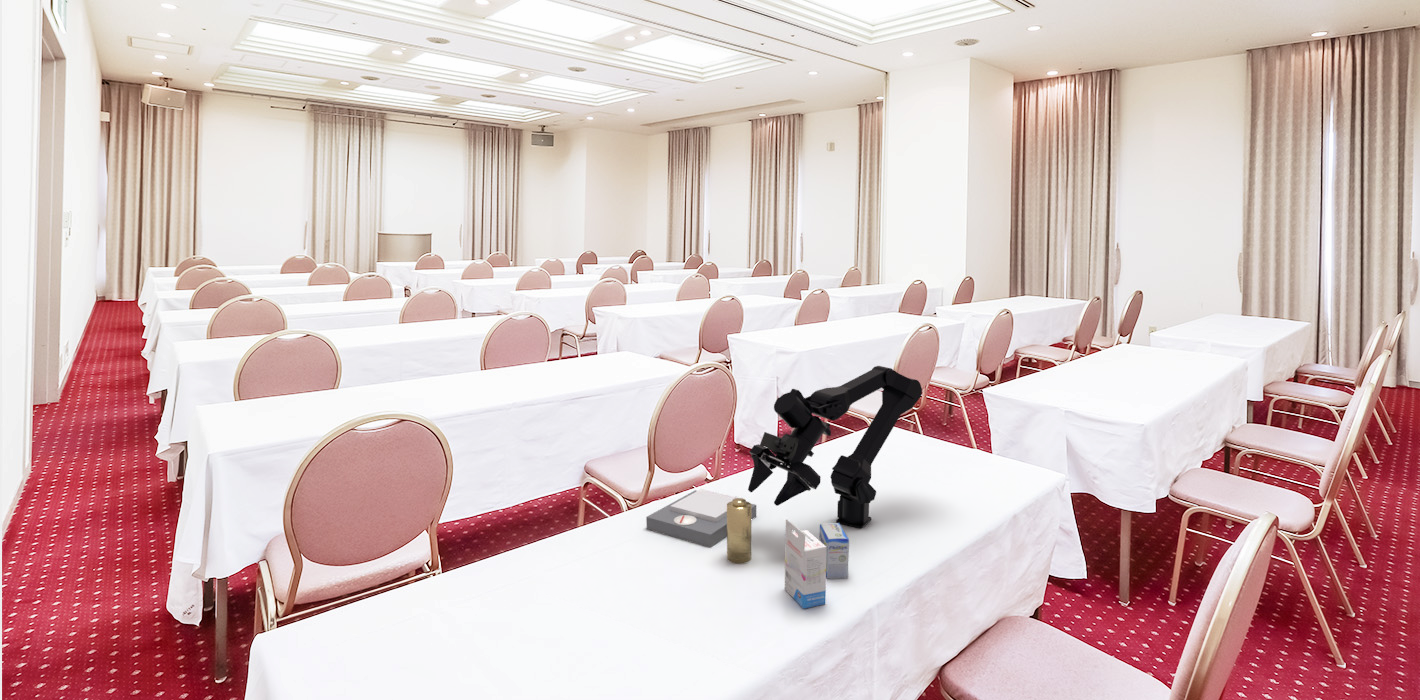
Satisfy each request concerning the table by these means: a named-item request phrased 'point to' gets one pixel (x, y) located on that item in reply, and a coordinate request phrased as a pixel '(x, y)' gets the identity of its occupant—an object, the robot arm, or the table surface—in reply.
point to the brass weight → (739, 531)
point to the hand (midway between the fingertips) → (762, 497)
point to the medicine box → (835, 550)
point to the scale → (695, 517)
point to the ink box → (805, 567)
